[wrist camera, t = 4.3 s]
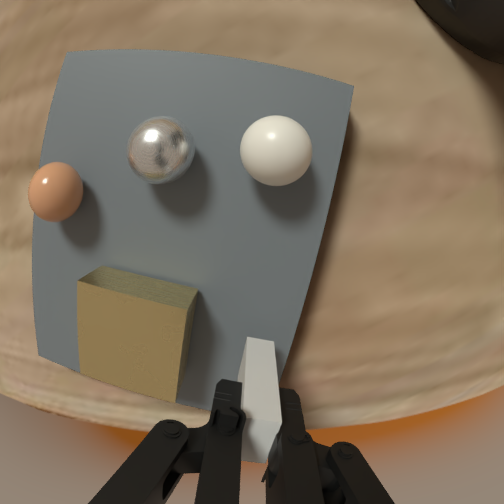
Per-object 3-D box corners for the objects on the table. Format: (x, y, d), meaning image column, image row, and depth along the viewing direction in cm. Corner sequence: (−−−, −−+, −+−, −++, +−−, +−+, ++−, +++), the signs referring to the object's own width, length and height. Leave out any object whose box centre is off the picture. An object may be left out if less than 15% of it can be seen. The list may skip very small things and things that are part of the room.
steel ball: (147, 119, 16) (123, 106, 12) (206, 127, 16) (194, 114, 12) (135, 178, 16) (108, 178, 13) (193, 188, 16) (177, 191, 13)
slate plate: (84, 62, 17) (66, 52, 14) (342, 96, 17) (354, 86, 15) (54, 341, 22) (38, 355, 19) (265, 398, 22) (266, 420, 20)
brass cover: (102, 265, 17) (77, 280, 14) (198, 288, 17) (187, 309, 14) (100, 349, 18) (80, 373, 15) (185, 374, 19) (175, 403, 16)
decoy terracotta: (54, 160, 16) (20, 158, 13) (97, 165, 16) (66, 164, 13) (47, 213, 17) (14, 221, 13) (89, 222, 17) (58, 232, 14)
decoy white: (249, 116, 15) (247, 100, 12) (311, 130, 16) (325, 119, 12) (235, 178, 16) (230, 177, 13) (298, 192, 16) (309, 195, 13)
